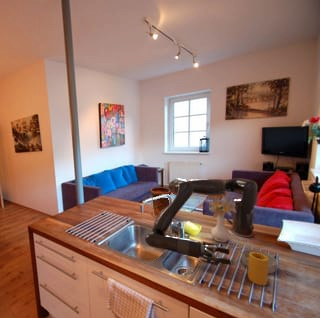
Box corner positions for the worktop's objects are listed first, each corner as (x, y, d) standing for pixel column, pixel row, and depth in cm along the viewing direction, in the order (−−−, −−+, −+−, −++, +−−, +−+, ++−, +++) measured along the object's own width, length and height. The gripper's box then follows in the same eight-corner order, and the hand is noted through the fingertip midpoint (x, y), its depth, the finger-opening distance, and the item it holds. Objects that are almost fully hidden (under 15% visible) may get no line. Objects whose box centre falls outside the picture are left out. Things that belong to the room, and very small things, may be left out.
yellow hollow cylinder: (244, 274, 88) (245, 251, 86) (259, 275, 87) (261, 251, 85) (254, 285, 82) (256, 260, 80) (271, 285, 81) (272, 260, 79)
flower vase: (207, 245, 111) (207, 202, 107) (208, 230, 126) (208, 192, 122) (236, 252, 103) (238, 205, 100) (234, 235, 118) (235, 194, 115)
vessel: (150, 218, 148) (149, 192, 146) (151, 210, 161) (151, 186, 159) (171, 220, 143) (171, 193, 140) (171, 212, 156) (170, 187, 153)
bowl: (235, 256, 100) (235, 249, 99) (262, 257, 98) (263, 249, 98) (252, 273, 88) (253, 265, 88) (284, 274, 86) (284, 265, 86)
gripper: (187, 248, 91) (231, 258, 82) (189, 233, 103) (228, 241, 94) (187, 263, 92) (231, 274, 83) (189, 247, 104) (228, 255, 95)
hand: (229, 257), depth 88 cm, fingers open, 8 cm apart
